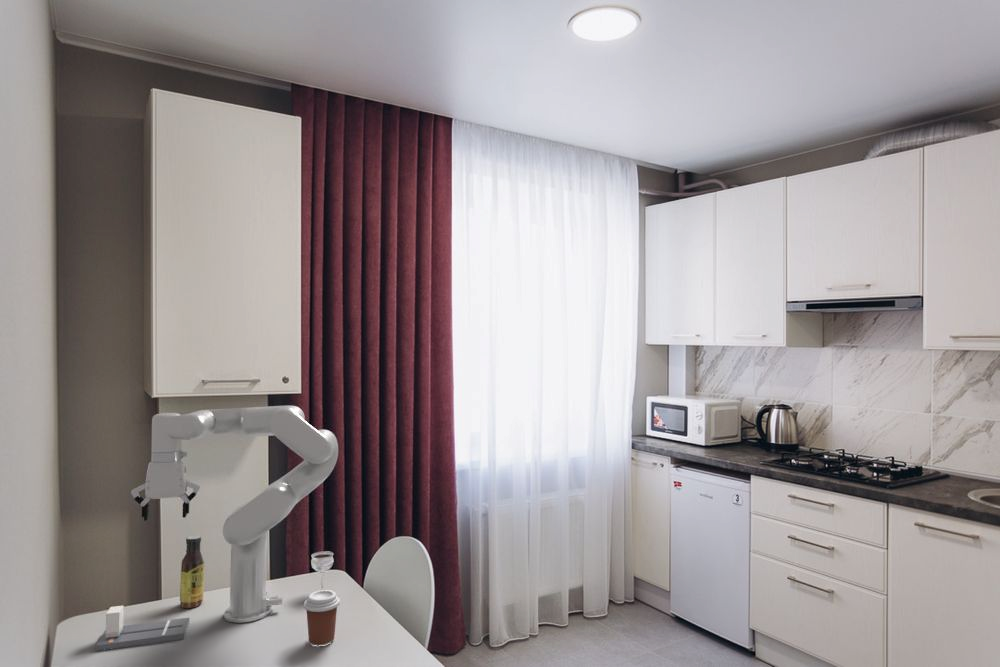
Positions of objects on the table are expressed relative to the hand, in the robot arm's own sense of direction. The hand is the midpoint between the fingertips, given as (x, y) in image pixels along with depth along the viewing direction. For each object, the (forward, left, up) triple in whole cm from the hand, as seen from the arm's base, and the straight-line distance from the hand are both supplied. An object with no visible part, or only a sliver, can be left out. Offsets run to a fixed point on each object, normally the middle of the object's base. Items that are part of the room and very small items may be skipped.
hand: (165, 517), depth 174 cm
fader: (+10, +10, -26) cm, 30 cm away
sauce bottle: (-6, -8, -28) cm, 30 cm away
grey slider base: (+3, +10, -28) cm, 30 cm away
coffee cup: (-41, +28, -28) cm, 57 cm away
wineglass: (-43, -4, -28) cm, 52 cm away
